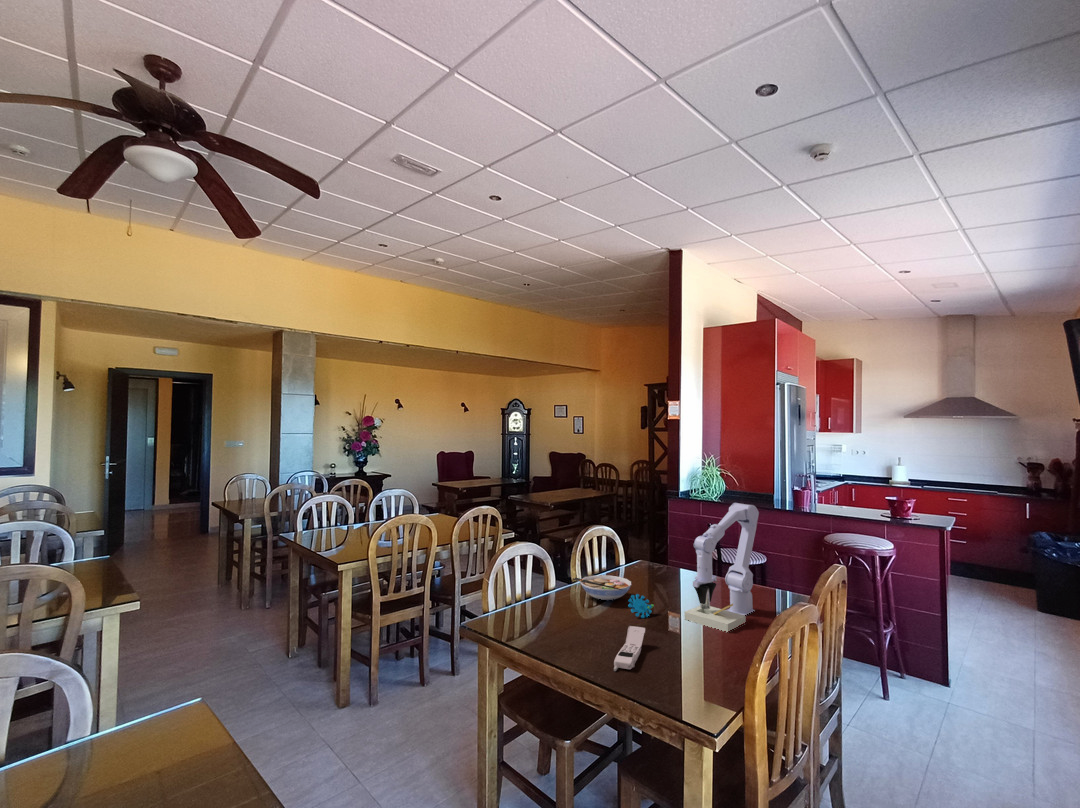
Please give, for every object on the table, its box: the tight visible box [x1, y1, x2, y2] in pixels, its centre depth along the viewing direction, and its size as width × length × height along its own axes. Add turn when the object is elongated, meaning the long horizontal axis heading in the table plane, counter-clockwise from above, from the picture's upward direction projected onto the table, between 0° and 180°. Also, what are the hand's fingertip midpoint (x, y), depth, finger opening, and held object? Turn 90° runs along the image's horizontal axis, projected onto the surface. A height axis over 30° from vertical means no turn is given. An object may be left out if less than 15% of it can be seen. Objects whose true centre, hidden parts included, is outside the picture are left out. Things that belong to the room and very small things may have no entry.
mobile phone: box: [613, 625, 646, 672], centre depth 167 cm, size 6×6×25 cm
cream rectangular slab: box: [684, 605, 747, 633], centre depth 200 cm, size 14×18×3 cm
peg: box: [699, 586, 711, 609], centre depth 203 cm, size 4×4×8 cm
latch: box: [713, 604, 733, 615], centre depth 197 cm, size 8×3×1 cm
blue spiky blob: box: [627, 593, 654, 619], centre depth 208 cm, size 11×6×10 cm
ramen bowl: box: [572, 574, 632, 601], centre depth 228 cm, size 25×23×8 cm
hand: (705, 602), depth 203 cm, fingers closed on peg, 4 cm apart
